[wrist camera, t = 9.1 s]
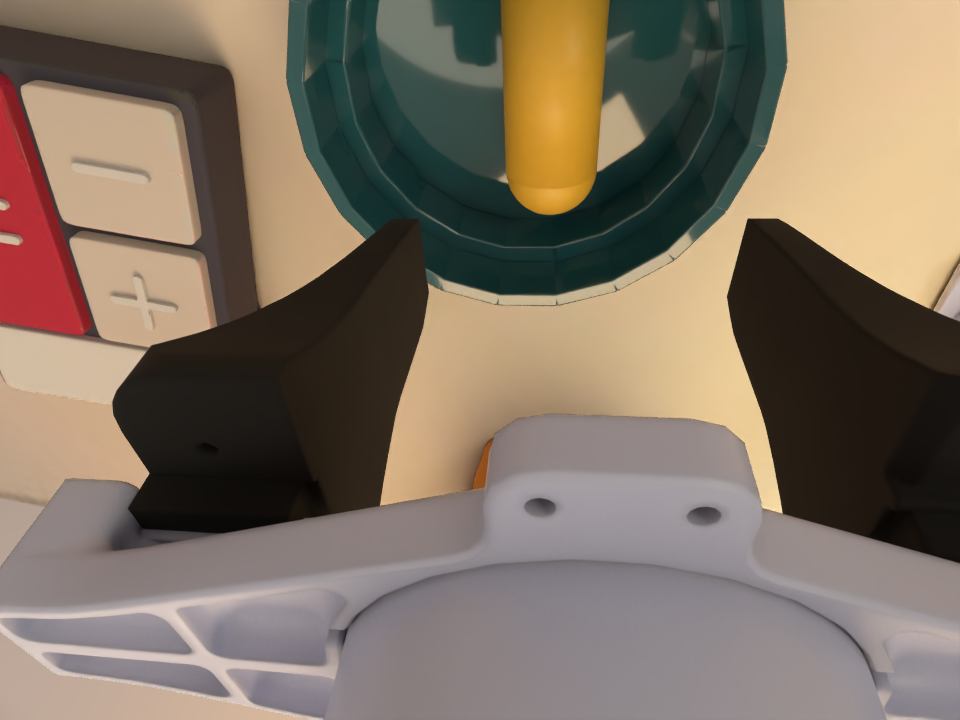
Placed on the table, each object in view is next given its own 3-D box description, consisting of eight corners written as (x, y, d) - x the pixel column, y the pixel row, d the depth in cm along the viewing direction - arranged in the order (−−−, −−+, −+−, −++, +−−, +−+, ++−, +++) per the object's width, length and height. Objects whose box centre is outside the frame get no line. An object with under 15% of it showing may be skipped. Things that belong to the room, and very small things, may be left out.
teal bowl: (700, 238, 23) (724, 308, 20) (372, 238, 25) (343, 304, 21) (799, -234, 15) (870, -247, 11) (286, -191, 16) (214, -192, 13)
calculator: (183, 98, 18) (238, 441, 27) (240, 62, 21) (271, 379, 31) (-195, 30, 18) (-7, 400, 27) (-77, 4, 21) (54, 342, 30)
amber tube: (566, 186, 23) (610, 221, 20) (493, 205, 22) (531, 244, 20) (579, -151, 16) (646, -151, 14) (476, -142, 15) (530, -140, 13)
